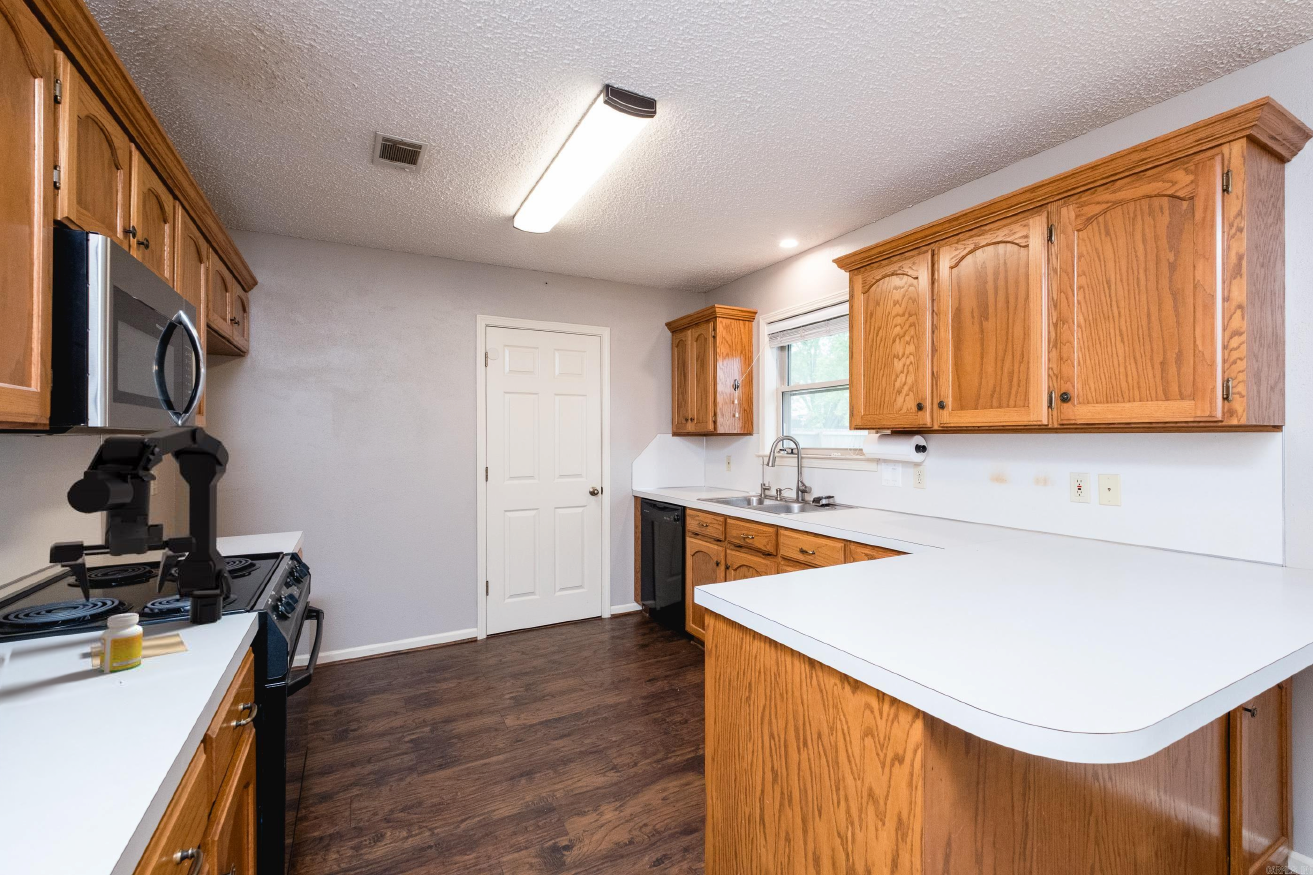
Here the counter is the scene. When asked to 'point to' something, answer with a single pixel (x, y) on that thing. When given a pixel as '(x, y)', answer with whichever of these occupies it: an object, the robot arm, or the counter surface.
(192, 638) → the counter surface
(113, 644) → the supplement bottle
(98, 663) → the plywood panel
